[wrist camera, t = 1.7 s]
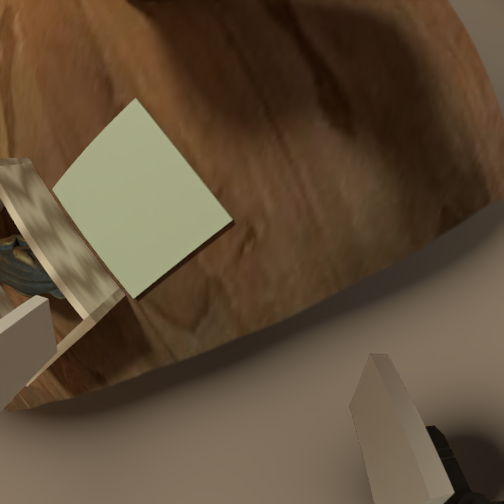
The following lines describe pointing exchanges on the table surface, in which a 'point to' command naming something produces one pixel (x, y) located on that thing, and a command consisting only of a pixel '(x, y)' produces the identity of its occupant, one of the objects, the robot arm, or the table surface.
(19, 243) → the sculpture
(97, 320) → the frame
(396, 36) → the table surface
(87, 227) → the pad
